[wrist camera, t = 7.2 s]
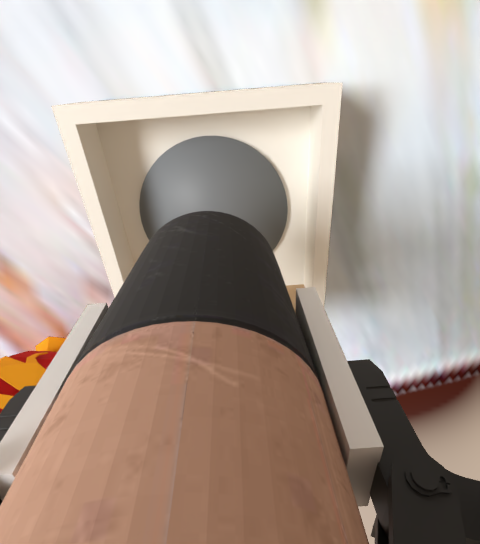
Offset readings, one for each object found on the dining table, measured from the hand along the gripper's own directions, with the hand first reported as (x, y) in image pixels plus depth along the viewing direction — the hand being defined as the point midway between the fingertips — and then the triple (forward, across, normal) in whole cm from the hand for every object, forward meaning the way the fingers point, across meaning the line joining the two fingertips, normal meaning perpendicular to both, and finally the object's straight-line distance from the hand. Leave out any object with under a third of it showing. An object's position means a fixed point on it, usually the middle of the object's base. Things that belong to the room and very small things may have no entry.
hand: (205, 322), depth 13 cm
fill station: (+14, 0, 0) cm, 14 cm away
